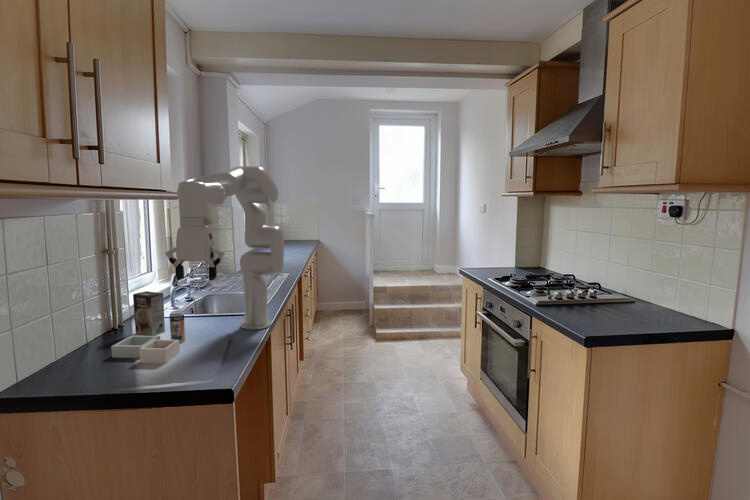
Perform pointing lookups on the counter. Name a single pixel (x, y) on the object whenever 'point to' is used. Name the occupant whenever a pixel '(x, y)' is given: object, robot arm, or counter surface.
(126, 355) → the grey tub
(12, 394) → the counter surface
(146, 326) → the coffee box
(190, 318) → the counter surface
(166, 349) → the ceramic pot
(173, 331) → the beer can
